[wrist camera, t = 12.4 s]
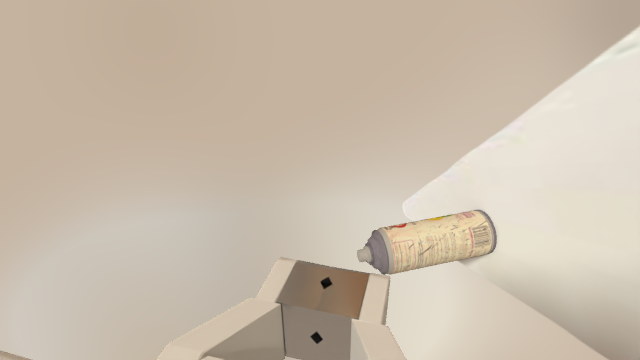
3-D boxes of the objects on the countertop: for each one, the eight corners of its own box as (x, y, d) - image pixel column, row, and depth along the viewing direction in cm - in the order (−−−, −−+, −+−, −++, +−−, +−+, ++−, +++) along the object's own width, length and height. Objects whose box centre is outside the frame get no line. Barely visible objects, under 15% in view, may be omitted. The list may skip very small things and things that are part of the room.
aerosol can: (482, 201, 59) (356, 225, 55) (502, 243, 56) (370, 270, 52) (464, 221, 65) (349, 243, 61) (482, 260, 61) (361, 285, 58)
